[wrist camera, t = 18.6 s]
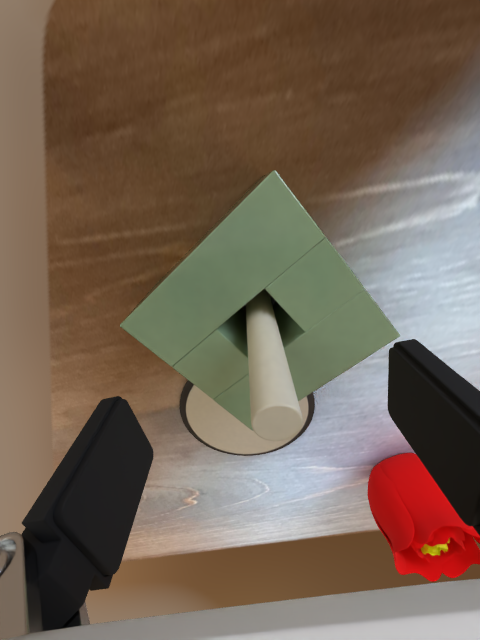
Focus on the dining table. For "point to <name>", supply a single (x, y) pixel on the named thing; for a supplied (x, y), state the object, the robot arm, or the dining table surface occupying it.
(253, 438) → the beige coaster disc
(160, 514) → the dining table surface
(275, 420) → the pen
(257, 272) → the pen stand
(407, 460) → the flower
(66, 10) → the dining table surface
